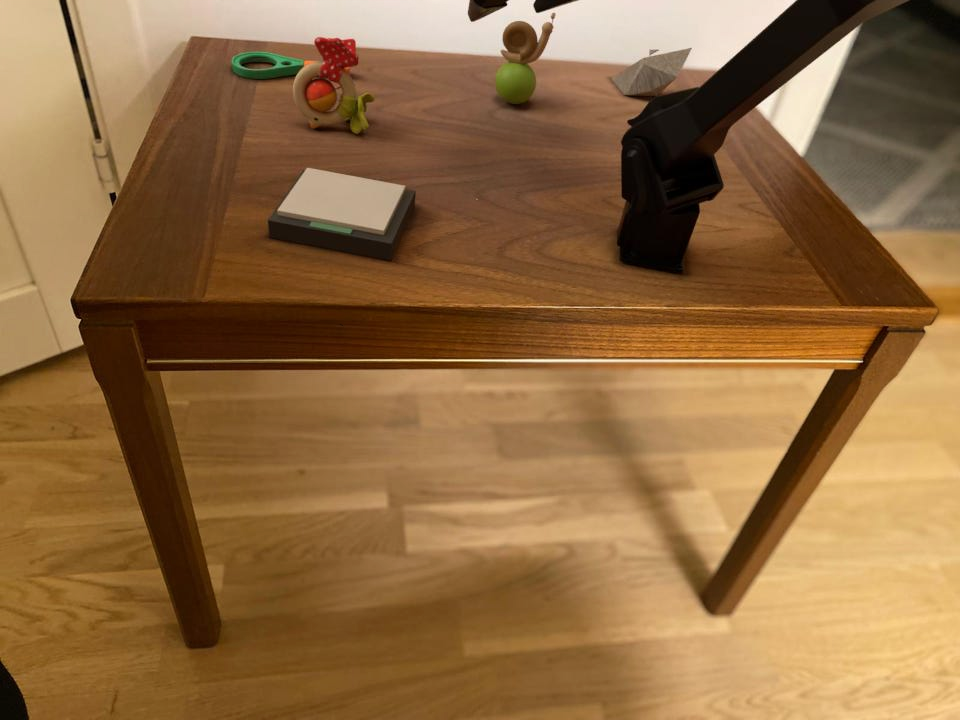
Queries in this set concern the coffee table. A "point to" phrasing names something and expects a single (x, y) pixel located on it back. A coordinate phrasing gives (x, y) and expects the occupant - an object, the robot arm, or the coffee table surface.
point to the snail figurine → (520, 60)
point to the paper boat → (651, 73)
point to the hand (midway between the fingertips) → (503, 13)
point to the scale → (343, 213)
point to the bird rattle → (331, 86)
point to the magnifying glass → (281, 68)
